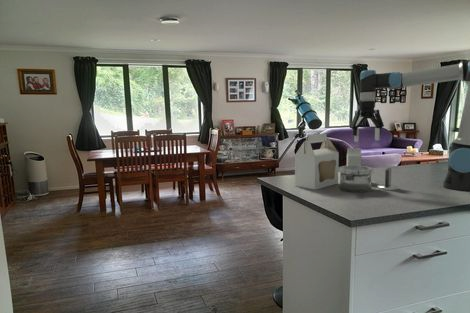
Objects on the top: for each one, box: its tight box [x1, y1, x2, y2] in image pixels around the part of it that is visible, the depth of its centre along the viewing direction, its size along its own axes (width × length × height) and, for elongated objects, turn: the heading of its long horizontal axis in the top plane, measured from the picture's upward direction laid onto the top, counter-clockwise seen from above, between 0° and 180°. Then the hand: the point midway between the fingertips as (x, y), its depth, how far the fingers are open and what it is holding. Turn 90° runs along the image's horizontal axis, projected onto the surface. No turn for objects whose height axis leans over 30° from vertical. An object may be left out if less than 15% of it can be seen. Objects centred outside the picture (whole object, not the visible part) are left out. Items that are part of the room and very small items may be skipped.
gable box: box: [294, 132, 340, 191], centre depth 187 cm, size 22×13×28 cm, turn 131°
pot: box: [338, 165, 374, 193], centre depth 173 cm, size 16×22×11 cm
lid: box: [377, 167, 400, 192], centre depth 175 cm, size 10×10×10 cm
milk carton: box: [346, 147, 363, 166], centre depth 194 cm, size 7×7×19 cm
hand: (366, 141), depth 182 cm, fingers open, 13 cm apart
